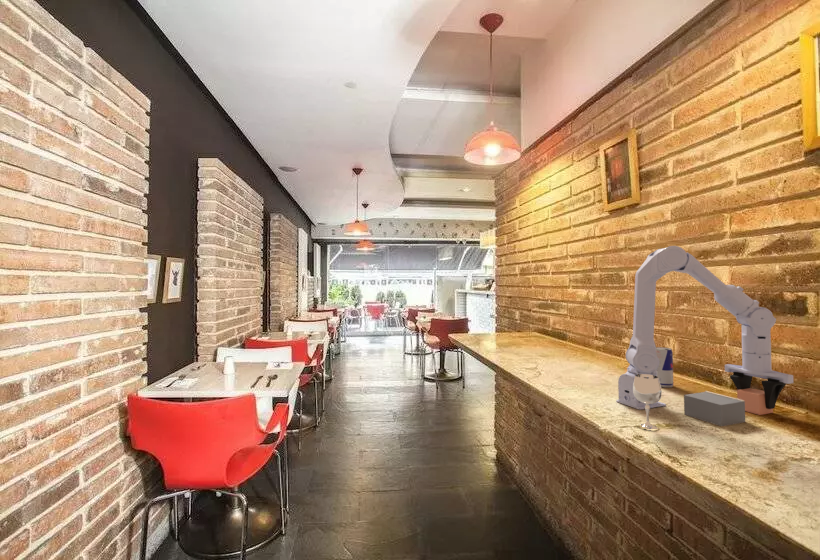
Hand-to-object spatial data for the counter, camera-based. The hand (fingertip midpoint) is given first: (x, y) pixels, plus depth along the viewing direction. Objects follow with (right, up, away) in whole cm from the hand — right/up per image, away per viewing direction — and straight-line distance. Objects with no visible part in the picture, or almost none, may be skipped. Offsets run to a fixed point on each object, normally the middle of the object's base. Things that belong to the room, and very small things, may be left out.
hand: (757, 405), depth 103 cm
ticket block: (-15, -2, -5) cm, 16 cm away
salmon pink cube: (-1, -1, 0) cm, 2 cm away
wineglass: (-34, -2, -10) cm, 36 cm away
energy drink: (-8, -2, +26) cm, 27 cm away
